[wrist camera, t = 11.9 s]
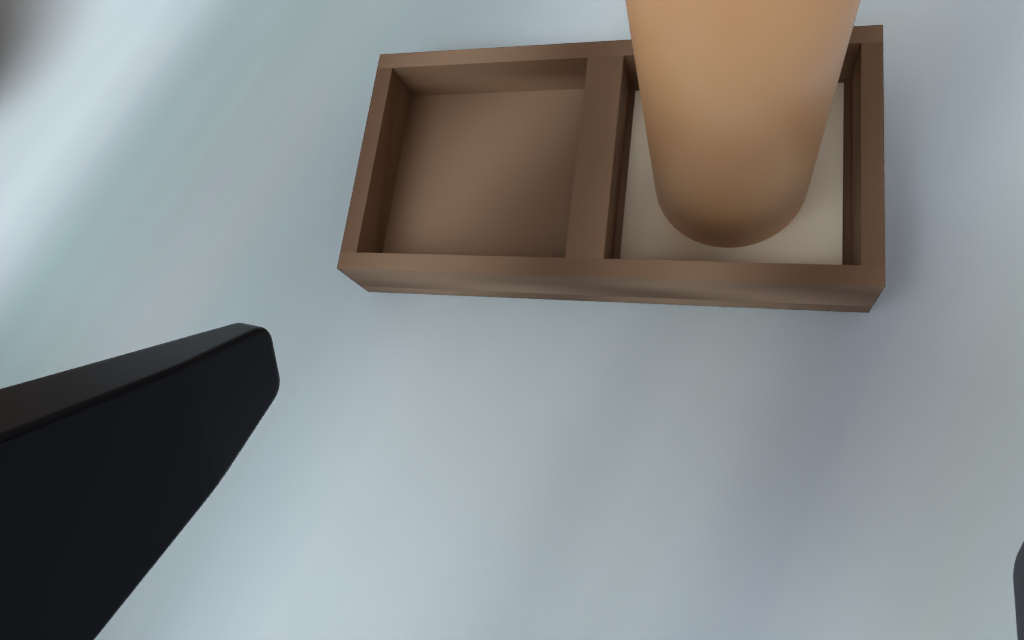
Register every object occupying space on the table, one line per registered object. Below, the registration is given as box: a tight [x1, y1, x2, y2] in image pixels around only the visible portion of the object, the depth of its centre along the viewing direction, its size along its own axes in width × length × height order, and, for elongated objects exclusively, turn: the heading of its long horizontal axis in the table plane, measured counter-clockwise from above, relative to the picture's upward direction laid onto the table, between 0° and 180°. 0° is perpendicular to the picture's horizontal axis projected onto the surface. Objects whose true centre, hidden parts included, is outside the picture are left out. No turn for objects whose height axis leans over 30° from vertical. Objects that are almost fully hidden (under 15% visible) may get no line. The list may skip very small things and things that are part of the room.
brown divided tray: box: [337, 25, 885, 313], centre depth 20 cm, size 14×7×2 cm, turn 83°
